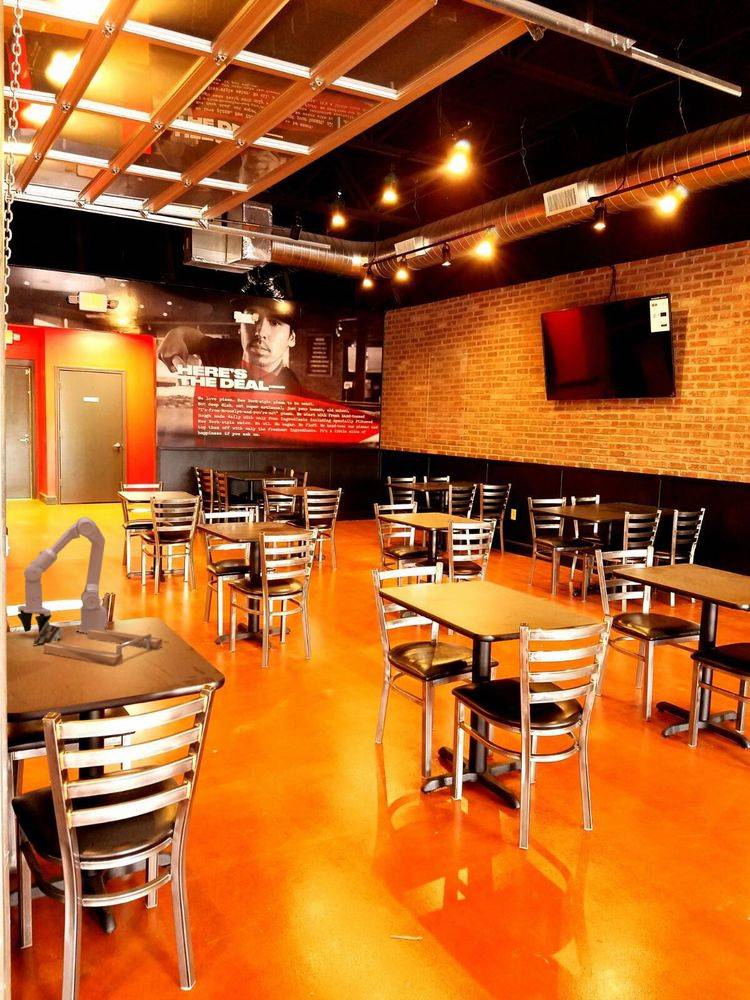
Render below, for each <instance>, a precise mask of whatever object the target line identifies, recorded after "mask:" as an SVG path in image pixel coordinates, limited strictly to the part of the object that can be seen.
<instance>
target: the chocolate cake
mask: <svg viewBox="0 0 750 1000" xmlns="http://www.w3.org/2000/svg"><path fill="white" fill-rule="evenodd" d="M49 621H50V619H49V620H48V621H47V622H46V624H45V625H44V627H43V628H42V630H41V631H40V633H39V632H38V634H37V636H36V637H35V639H34V640H33V645H34V644H37V643H39V644H40V645H44V644H45V643H50V642H53V641H59V640H58V639H60V638H61V639H62V638H63V635H64V634H63V628H62V627H60V626H56V625H53V624H50V622H49ZM61 639H60V640H61ZM41 643H42V644H41ZM39 644H37V645H39Z"/></svg>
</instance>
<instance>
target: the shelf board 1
mask: <svg viewBox="0 0 750 1000" xmlns="http://www.w3.org/2000/svg"><path fill="white" fill-rule="evenodd" d="M44 652H48V653H53V654H57V655H62V656H67V657H66V658H68V657H71V658H70V659H73V658H77V659H76V660H78V659H82V660H81V661H83V660H86V661H85V662H89V661H92V662H91V663H94V662H96V663H95V664H99V663H100V664H101V665H105V664H106V666H111V667H116V666H117V665H120V664H123V662H124V661H123V653H122V654H119V653H116V652H112V651H107V650H101V649H95V648H91V647H90V648H89V647H84V646H78V645H73V644H67V643H62V642H50V643H47V644H43V653H44ZM57 655H56V656H57ZM62 656H61V657H62Z"/></svg>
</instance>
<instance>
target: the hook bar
mask: <svg viewBox="0 0 750 1000" xmlns="http://www.w3.org/2000/svg"><path fill="white" fill-rule="evenodd" d="M142 636H143V637H140V638H137V639H135V640H132V641H129V642H126V643H124V644H118V645H116V648H115V649H116V651H115V653H119V654H122V655H123V651H122V650H123V648H126V647H129V645H131V644H134V643H136V642H139V641H142V640H144V639H147V649H146V651H152V640H151V637H152V633H149V634H146V635H142Z"/></svg>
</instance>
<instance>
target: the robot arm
mask: <svg viewBox="0 0 750 1000" xmlns="http://www.w3.org/2000/svg"><path fill="white" fill-rule="evenodd" d="M81 536H83V537H84V538H86V539H87V540H88V541H89V543H90V544H91V546H90V553H89V562H88V567H87V568H88V569H87V575H86V581H85V586H84V590H83V592H82V593H81V595H80V601H81V602H82V606H81V607H80V626H81V627H80V629H77V630H76V631H79V632H78V633H80V632H84V633H83V634H86V633H87V630H90V629H93V628H99V629H103V628H104V627H106V626H107V627H108V612H107V609H106V607H105V606H102V605H100V604H101V599H100V596H99V593H100V579H101V573H102V572H101V571H102V565H103V558H104V550H105V543H106V540H105V539H106V538H105V537H104V535H103V534H102V532H101V530H100V528H99V526H98V525H97V523H96V522H95V521H94V520H93V519H91V518H90V517H87V516H83V517H80V518H79V519H77V521H76V522H73V524H72V525H71V526H69V527H68V528H67V529H66V530H65V532H64V533H63V534H62V535H61V536H60V537H59V538H58V539H57V541H55V543H54V544H53V545H52V546H51V547H50V548H46V549H44V550H41V551H39V552H38V554H39V555H38V556H37V557H36V558H35V559H34V560H32V561H30V563H29V564H30V565H27V566H26V568H25V569H24V572H23V575H24V578H25V581H24V584H25V585H24V594H25V595H24V598H25V601H24V602H25V605H21V606H20V605H19V606H17V609H18V610H17V611H18V614H17V617H18V619H19V620H20V621H21V623H22V626H23V630H24V632H25V633H27V632H30V631H31V629H32V618H33V615H36V616H35V618H34V619H36V623H37V627H38V634H39V633H40V631H41V630H42V628H43V627H44V625H45V624H46V622H47V621H48V620H49V621H50V619H51V618H52V614H51V609H47V608H45V607H43V590H42V589H43V587H42V585H43V584H42V581H41V580H42V579H41V578H42V576H43V573H45V572H46V571H48V569H49V568H50V567H51V566H52V565H53V564H54V563H55V562H56V561H57V560H58V554H59V553H60V552H61V551H62V550H63V549H65V547H66V546H67V545H68V544H69V543H70V542H71V541H72V540H75V539H80V538H81ZM49 621H48V622H49Z"/></svg>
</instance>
